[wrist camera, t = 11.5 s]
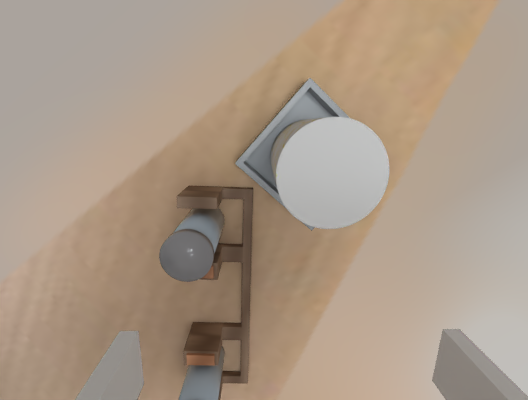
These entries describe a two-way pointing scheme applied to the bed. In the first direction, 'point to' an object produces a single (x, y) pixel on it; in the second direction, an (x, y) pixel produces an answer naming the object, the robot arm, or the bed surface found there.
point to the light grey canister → (329, 170)
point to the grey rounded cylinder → (192, 245)
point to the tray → (297, 108)
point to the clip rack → (211, 334)
